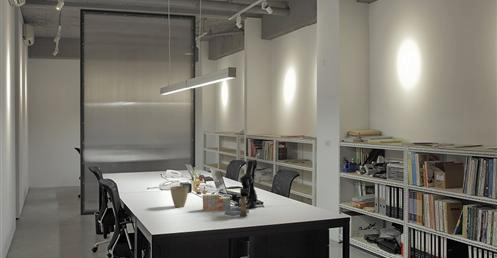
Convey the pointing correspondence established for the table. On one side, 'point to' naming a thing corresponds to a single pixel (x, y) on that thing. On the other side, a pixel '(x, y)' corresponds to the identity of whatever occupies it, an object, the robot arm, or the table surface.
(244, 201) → the scraper handle
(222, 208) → the colourful rectangular box
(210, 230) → the table surface
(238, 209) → the tray
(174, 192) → the plant pot
